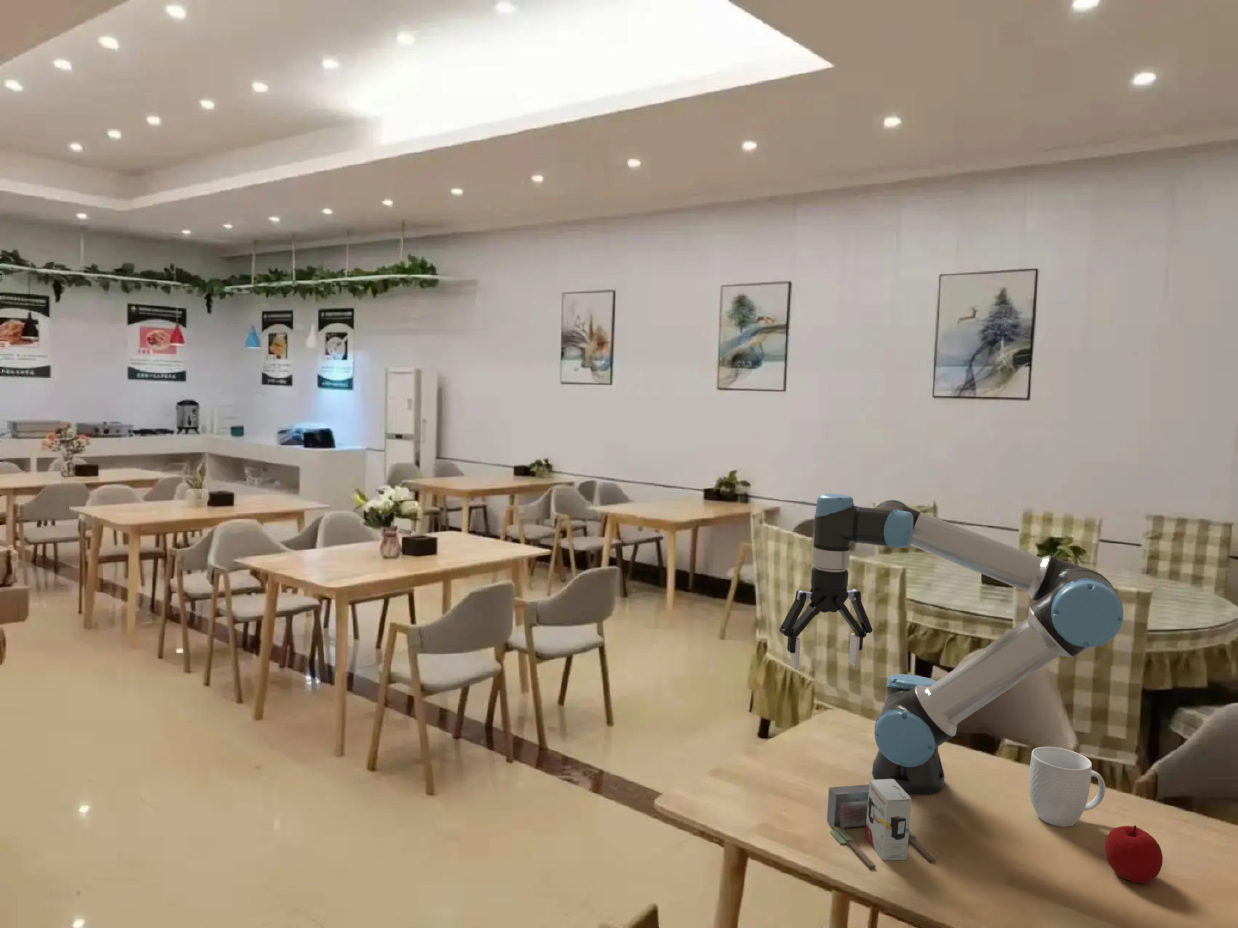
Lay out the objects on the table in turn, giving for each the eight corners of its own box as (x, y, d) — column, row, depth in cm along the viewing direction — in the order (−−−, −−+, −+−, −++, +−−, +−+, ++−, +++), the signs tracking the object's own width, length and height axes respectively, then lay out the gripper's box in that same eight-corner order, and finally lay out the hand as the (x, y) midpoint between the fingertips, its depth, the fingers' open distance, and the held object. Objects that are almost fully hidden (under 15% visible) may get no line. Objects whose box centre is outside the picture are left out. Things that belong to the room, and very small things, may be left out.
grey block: (885, 815, 176) (888, 782, 175) (895, 824, 173) (897, 791, 172) (826, 821, 173) (829, 787, 172) (835, 830, 170) (837, 796, 169)
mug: (1085, 806, 183) (1091, 747, 182) (1116, 834, 172) (1123, 771, 171) (1015, 805, 183) (1021, 745, 181) (1043, 832, 172) (1049, 769, 170)
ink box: (864, 836, 168) (868, 777, 167) (888, 835, 168) (892, 777, 167) (882, 861, 159) (887, 799, 158) (907, 860, 160) (912, 799, 159)
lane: (900, 822, 173) (900, 819, 173) (941, 861, 160) (941, 857, 160) (827, 829, 170) (827, 825, 170) (863, 869, 156) (863, 865, 156)
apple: (1173, 887, 155) (1178, 833, 154) (1132, 894, 152) (1138, 839, 151) (1129, 859, 163) (1134, 808, 162) (1090, 865, 161) (1095, 813, 160)
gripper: (874, 563, 189) (868, 658, 191) (767, 564, 183) (762, 662, 186) (893, 571, 182) (886, 669, 184) (782, 572, 176) (776, 674, 178)
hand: (823, 666), depth 185 cm, fingers open, 13 cm apart
